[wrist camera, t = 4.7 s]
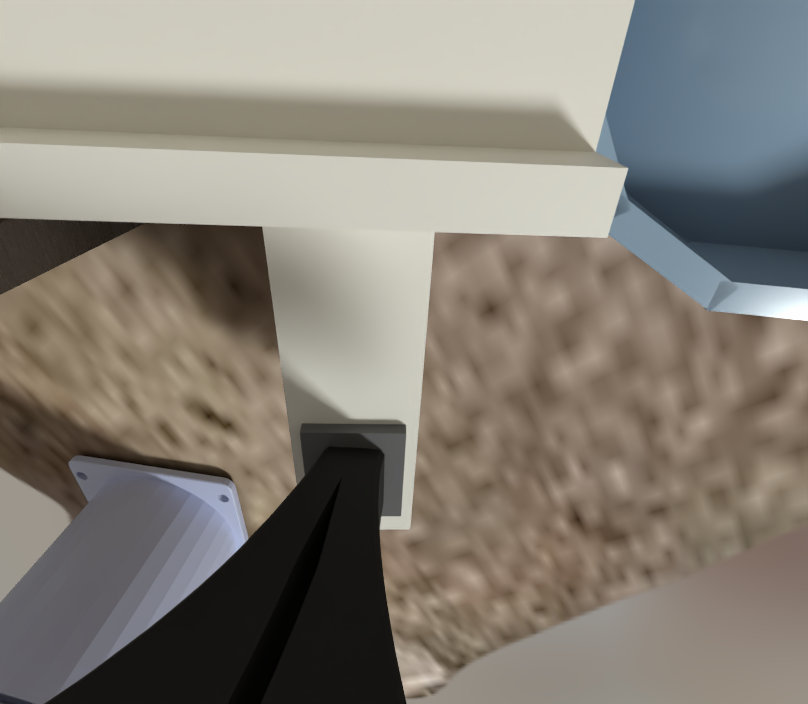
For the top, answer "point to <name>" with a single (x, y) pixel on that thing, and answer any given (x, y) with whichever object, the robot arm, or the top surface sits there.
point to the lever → (320, 160)
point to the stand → (48, 245)
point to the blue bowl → (716, 150)
